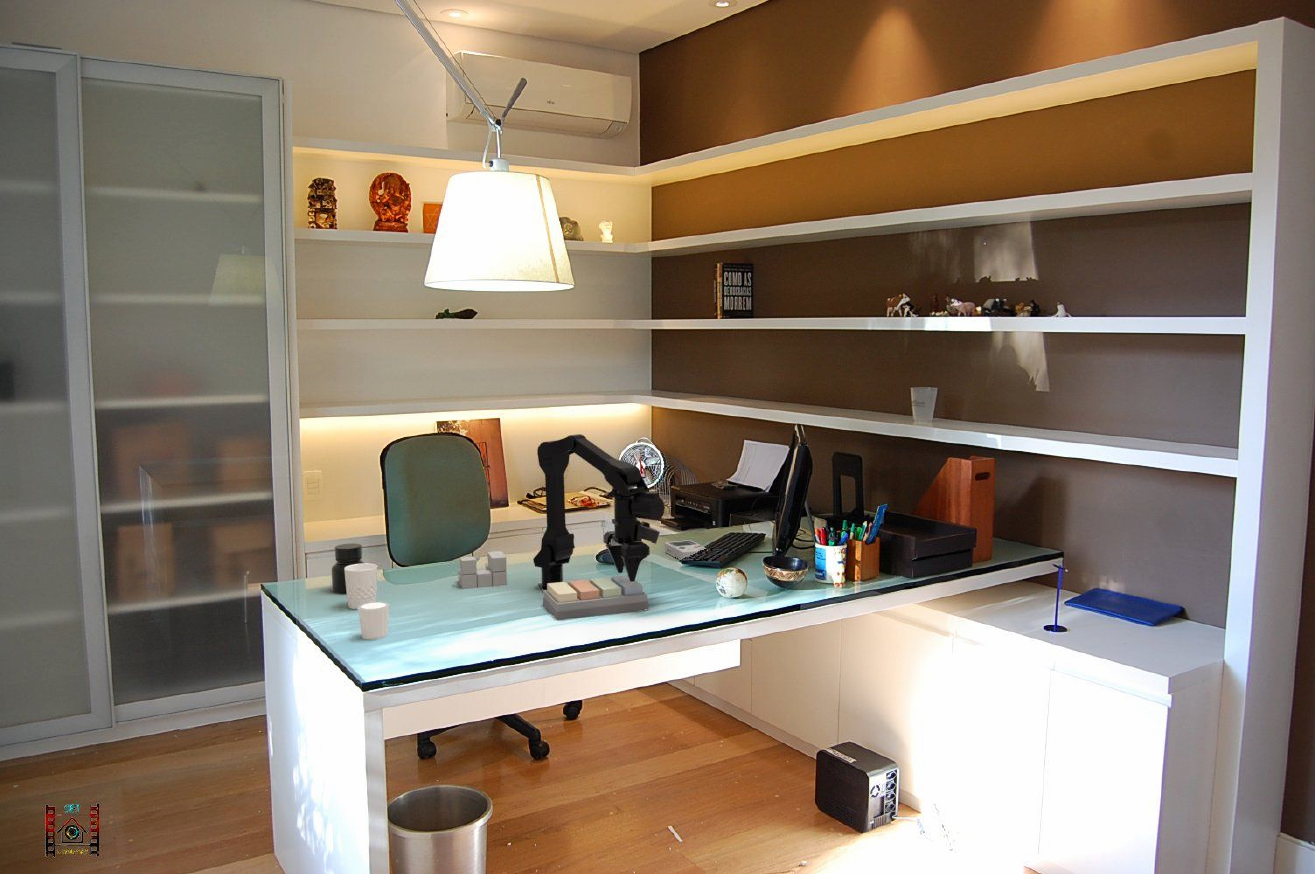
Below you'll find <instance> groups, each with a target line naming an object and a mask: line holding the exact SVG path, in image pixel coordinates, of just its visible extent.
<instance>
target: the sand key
mask: <svg viewBox="0 0 1315 874" xmlns="http://www.w3.org/2000/svg"><path fill="white" fill-rule="evenodd" d="M547 593H548V594H549V595H550V596H551V597H552V598H553V599H554V600H555V601H556V602H557V603H564V602H573V601H577V592H576V591H575V590H574V589H573V588H571V587H570V586H569V583H567V582H566V581H563V582H557V583H547Z"/></svg>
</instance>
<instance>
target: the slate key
mask: <svg viewBox="0 0 1315 874" xmlns="http://www.w3.org/2000/svg"><path fill="white" fill-rule="evenodd" d="M610 580H611V581H613V582H614V583H615V584H617V585H618V586H619V587H621V594H623V595H624V596H628V595H638V594H643V592H644V590H643V589H644V587H643V585H642V584H641V583H640V582H638V581H637V580H635V581H633V582H631V581H630V580H629V577H628V574H627V575H620V576H618V575H617V576H611V577H610Z"/></svg>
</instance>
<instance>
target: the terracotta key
mask: <svg viewBox="0 0 1315 874" xmlns="http://www.w3.org/2000/svg"><path fill="white" fill-rule="evenodd" d="M568 585H569V586H570V587H571V588H573V589H574V590H575V591H576V592H577V598H578V599H579V600H580V601H582V600H592V599H599V590H598V589H597V588H596V587H595V586H594V585H592V584H591V583H590V580H589V581H588V579H579V580H578V579H577V580H570V581H568Z"/></svg>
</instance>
